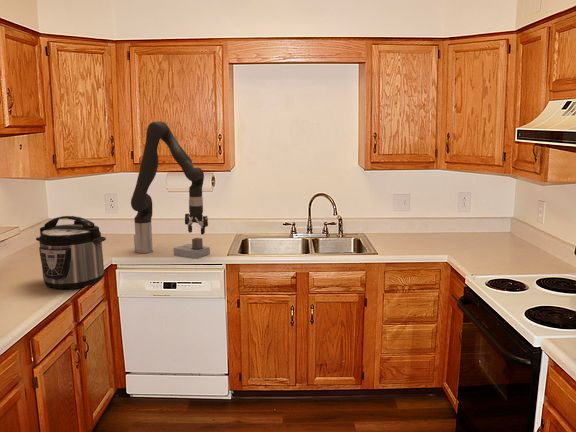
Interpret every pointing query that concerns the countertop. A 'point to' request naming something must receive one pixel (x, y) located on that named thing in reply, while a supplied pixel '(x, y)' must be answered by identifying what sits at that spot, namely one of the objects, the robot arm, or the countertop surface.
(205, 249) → the socket plate
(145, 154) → the robot arm
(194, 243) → the grey square peg
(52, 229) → the pressure cooker
